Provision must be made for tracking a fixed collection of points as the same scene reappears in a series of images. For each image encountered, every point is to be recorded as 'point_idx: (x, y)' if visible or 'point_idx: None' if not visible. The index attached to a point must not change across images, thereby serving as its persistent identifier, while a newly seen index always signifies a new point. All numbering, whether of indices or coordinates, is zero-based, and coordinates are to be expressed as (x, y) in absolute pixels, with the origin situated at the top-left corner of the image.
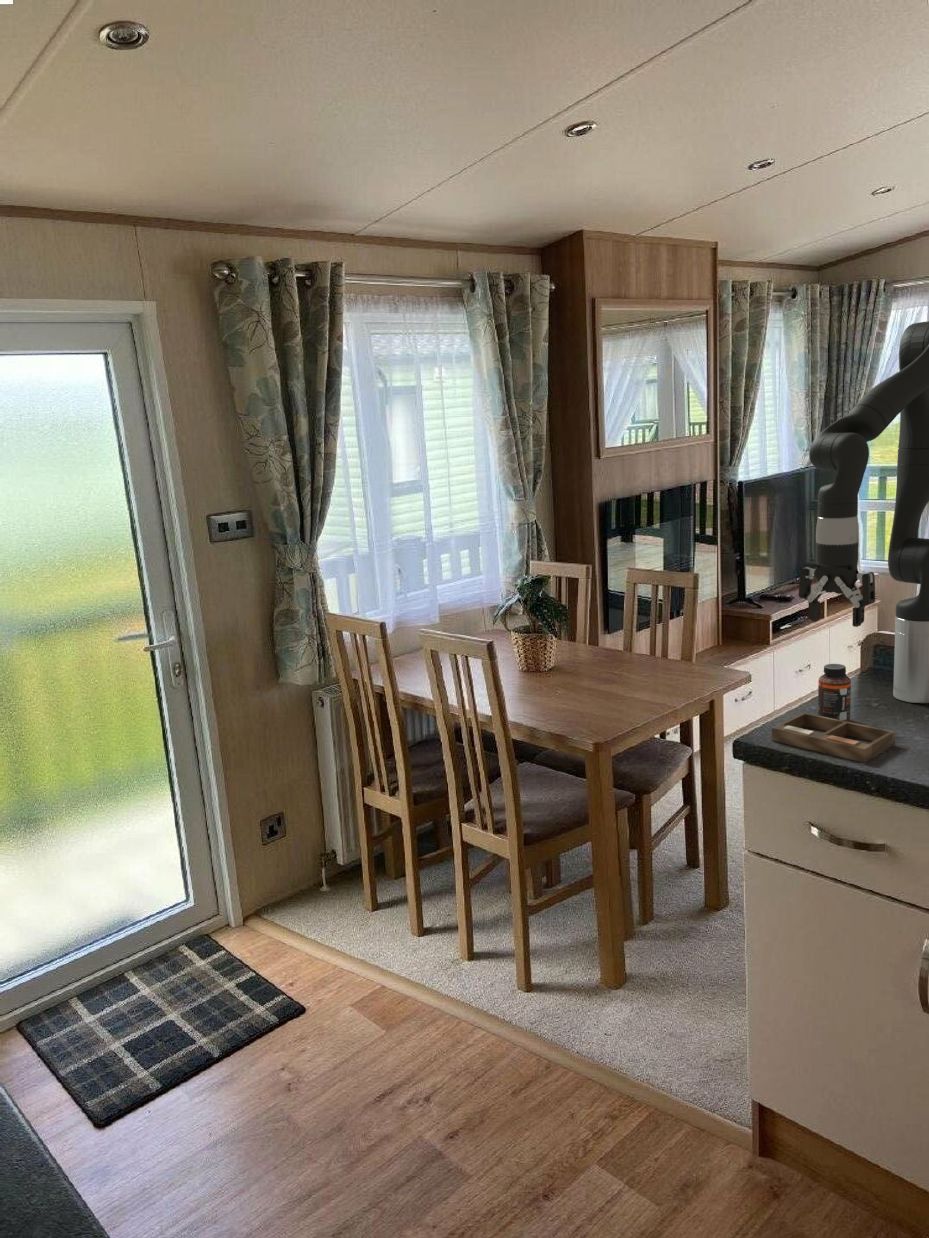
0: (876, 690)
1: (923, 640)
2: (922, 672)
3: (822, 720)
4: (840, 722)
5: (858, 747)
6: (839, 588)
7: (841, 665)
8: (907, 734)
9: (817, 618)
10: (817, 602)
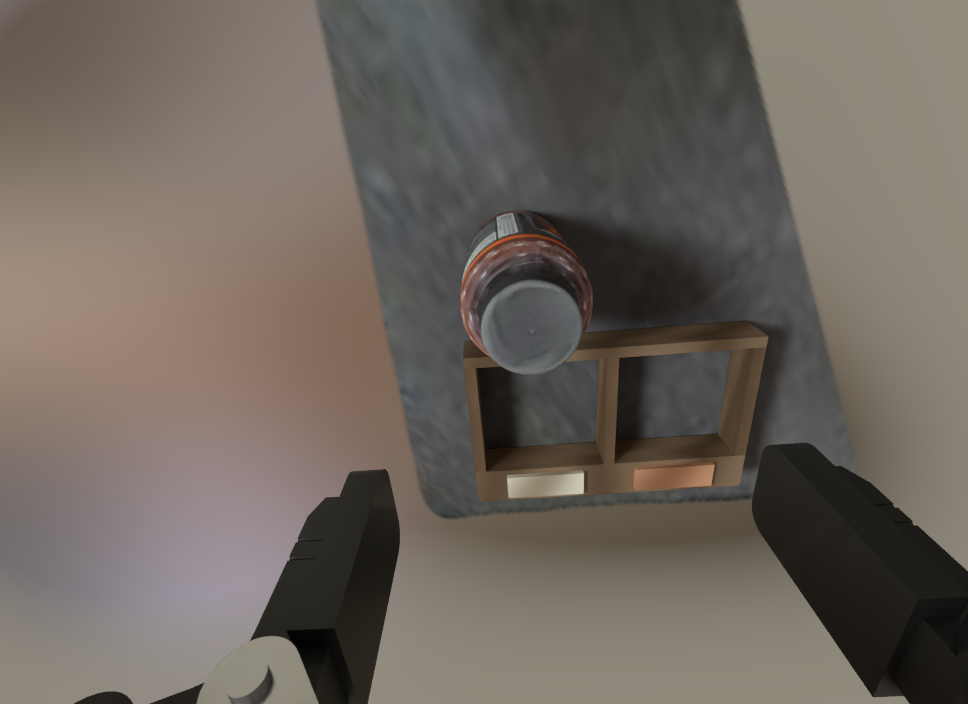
0: None
1: None
2: None
3: None
4: (596, 358)
5: (722, 484)
6: None
7: (551, 300)
8: (754, 218)
9: (388, 504)
10: (347, 662)
